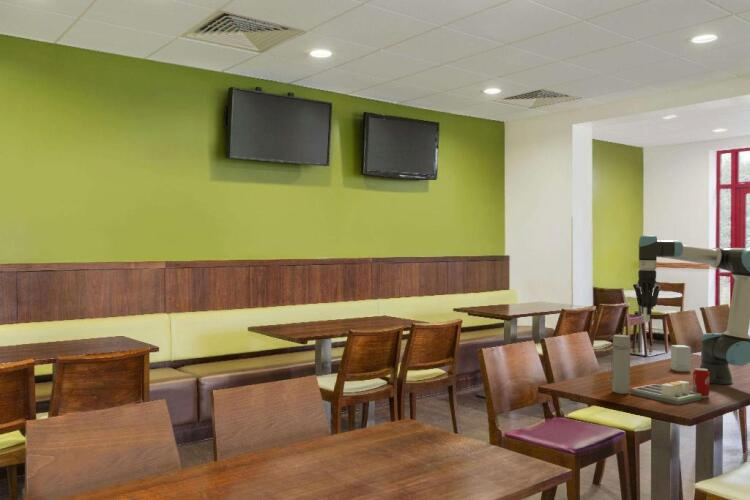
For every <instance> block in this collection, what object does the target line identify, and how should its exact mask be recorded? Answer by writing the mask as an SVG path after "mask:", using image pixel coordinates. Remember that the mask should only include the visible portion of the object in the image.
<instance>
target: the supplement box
mask: <svg viewBox="0 0 750 500" xmlns="http://www.w3.org/2000/svg"><path fill="white" fill-rule="evenodd" d="M691 348H692V347H691V346H687V345H684V344H671V345H670V369H671V370H673V371H676V372H691V370H692V369H691V365H692V364H691V363H692V361H691V358H692V357H691V356H692V351H691V350H692V349H691Z"/></svg>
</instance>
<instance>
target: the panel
mask: <svg viewBox="0 0 750 500" xmlns="http://www.w3.org/2000/svg"><path fill="white" fill-rule="evenodd" d="M633 394H634V395H633ZM630 395H633V396H638V397H643V398H648V399H650V400H656V401H661V402H664V403H669V404H673V405H678V406H680V405H684V404H689V403H692V402H696V401H701V400H702V398H701V394H700V393H695V392H693V391H690V392H689V394H686V393H682V396H681V395H676V394H675V397H671V396H666V395H662V394H661V384H656V383H651V384H646V385H641V386H636V387H631V388H630Z"/></svg>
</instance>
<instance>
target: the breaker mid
mask: <svg viewBox="0 0 750 500" xmlns="http://www.w3.org/2000/svg"><path fill="white" fill-rule="evenodd" d="M676 382H677V381H671V382H668V383H667V384H672V385H676V386H675V394H676V395H681V396H682V384H681V383H676Z"/></svg>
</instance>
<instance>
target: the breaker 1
mask: <svg viewBox="0 0 750 500" xmlns="http://www.w3.org/2000/svg"><path fill="white" fill-rule="evenodd" d="M660 385H661V394H662V395H666V396H671V397H675V386H676V385H672V384H668V383H662V384H660Z"/></svg>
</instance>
